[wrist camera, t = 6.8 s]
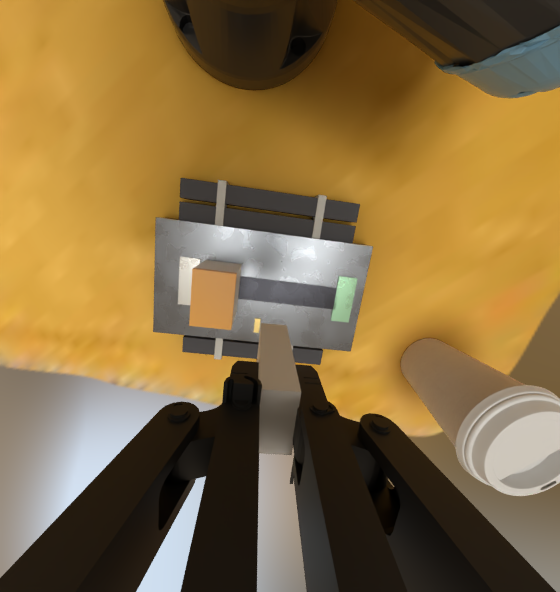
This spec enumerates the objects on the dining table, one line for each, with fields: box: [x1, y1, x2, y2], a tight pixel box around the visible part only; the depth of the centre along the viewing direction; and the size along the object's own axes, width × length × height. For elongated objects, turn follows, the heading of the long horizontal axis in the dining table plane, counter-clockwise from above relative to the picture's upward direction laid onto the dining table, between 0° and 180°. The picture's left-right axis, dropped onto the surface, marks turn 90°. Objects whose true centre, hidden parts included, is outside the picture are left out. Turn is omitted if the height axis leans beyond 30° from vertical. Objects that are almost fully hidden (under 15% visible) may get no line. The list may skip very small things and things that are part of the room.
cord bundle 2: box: [183, 335, 323, 365], centre depth 33 cm, size 3×16×2 cm, turn 82°
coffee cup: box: [401, 338, 560, 496], centre depth 29 cm, size 10×10×15 cm
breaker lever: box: [189, 260, 241, 330], centre depth 26 cm, size 5×4×6 cm
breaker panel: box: [153, 217, 373, 351], centre depth 31 cm, size 12×22×3 cm, turn 82°
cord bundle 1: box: [179, 178, 360, 243], centre depth 29 cm, size 5×18×2 cm, turn 82°
